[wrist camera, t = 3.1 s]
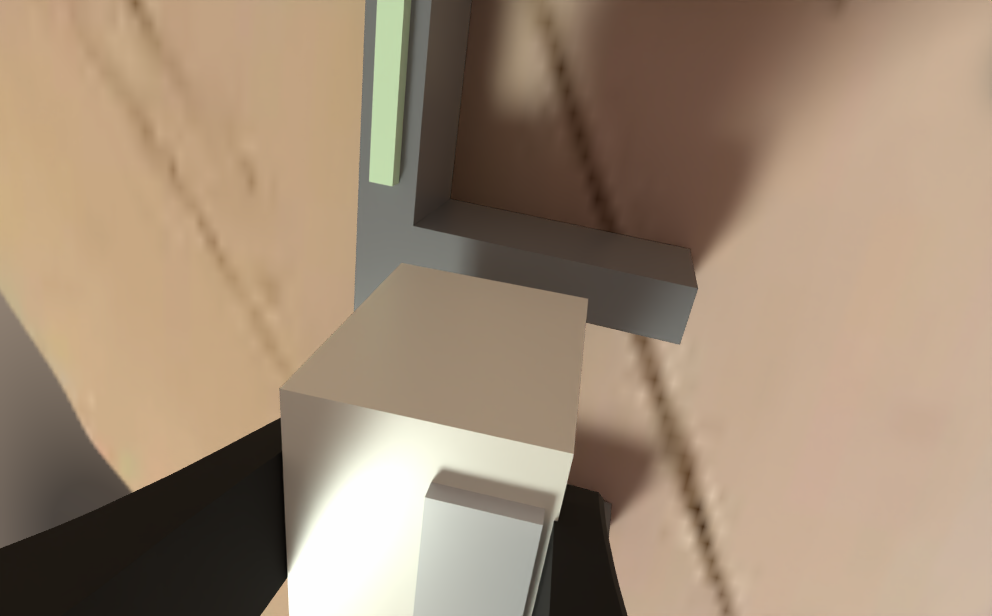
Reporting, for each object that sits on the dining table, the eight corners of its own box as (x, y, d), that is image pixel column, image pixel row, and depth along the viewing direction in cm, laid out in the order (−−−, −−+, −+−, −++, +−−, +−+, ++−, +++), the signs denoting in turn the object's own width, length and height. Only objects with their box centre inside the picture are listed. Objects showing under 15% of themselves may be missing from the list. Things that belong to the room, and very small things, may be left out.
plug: (588, 298, 12) (572, 469, 7) (547, 483, 14) (514, 709, 9) (401, 262, 12) (267, 400, 7) (390, 447, 14) (281, 645, 10)
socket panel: (823, -185, 12) (882, -266, 9) (602, 534, 21) (594, 616, 18) (432, -219, 13) (366, -300, 10) (382, 470, 22) (340, 536, 19)
